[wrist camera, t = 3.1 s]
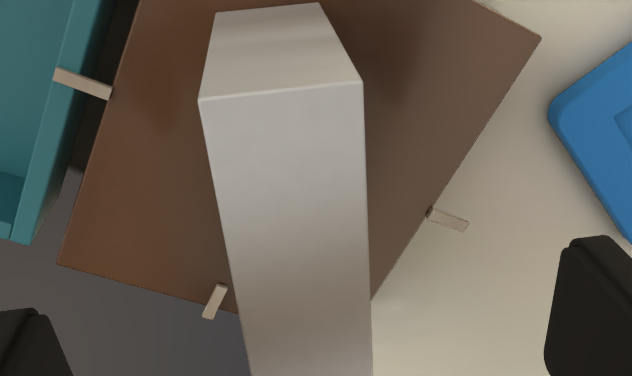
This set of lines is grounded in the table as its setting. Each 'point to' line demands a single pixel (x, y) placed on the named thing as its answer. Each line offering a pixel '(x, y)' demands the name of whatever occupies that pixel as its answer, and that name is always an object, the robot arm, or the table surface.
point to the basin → (42, 101)
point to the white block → (291, 188)
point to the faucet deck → (191, 152)
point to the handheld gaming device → (601, 133)
